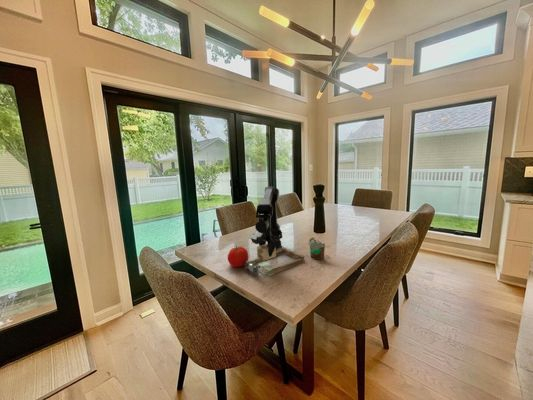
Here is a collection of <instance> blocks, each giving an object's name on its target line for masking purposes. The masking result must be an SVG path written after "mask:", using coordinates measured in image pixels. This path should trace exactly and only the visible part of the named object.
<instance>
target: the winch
mask: <svg viewBox="0 0 533 400" xmlns="http://www.w3.org/2000/svg"><path fill="white" fill-rule="evenodd" d="M260 269H261V266H259V265H258V264H256V265H255V264H252V263H250V260H249V259H248V260H247V261H245V265H244V270H245V271H249V272H251V273H253V276H254V277H255V278H257V277H258V276H259V271H258V270H260Z"/></svg>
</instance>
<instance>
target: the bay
mask: <svg viewBox="0 0 533 400" xmlns="http://www.w3.org/2000/svg"><path fill="white" fill-rule="evenodd" d="M280 248H281V249H280V250H277V251H276V257H277V256H280V255H285V256H288V257H290V258H291V259H292V258H293V259H294V260H292V261H290V262H287V263H284V264H282V265H280V266H278V267H277V266H276V267H275V266H274V265H271V264H270V263H268V262H266V260H265V261H263V260H262V259H260V258H258V257H256V258H253V259H250V260H249V262H250V263H252V264H253V265H255V264H256V265H258V266H260V268H263V269H264V270H266V272H264V271H262V270H260V269H259V270H258V272H259V273H262V274H263V275H264V276H265V275H267V276H268V277H271V276H273V275H276V274H278V273H280V272H283V271H285V270H288V269H290V268H293V267H294V266H297V265H300V264H302V263H304V262H305V256H304V255H301V254H299V253H297V252H295V251H292V250H290V249H287V248H285V247H280Z"/></svg>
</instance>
